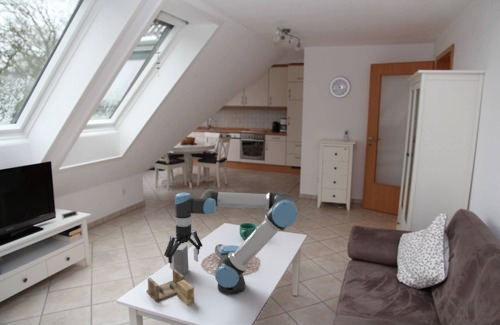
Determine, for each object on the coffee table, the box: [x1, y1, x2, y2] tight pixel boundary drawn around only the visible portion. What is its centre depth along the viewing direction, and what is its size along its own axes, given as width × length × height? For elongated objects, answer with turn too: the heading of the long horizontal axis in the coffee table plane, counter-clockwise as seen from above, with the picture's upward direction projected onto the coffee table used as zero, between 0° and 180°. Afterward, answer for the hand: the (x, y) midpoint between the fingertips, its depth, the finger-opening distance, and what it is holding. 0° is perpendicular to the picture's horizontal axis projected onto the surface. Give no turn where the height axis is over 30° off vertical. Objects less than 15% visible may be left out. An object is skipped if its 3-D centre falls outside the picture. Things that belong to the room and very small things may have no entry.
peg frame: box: [146, 269, 185, 303], centre depth 179 cm, size 12×17×8 cm
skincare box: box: [173, 244, 190, 277], centre depth 198 cm, size 8×7×16 cm
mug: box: [239, 222, 258, 240], centre depth 248 cm, size 17×13×10 cm
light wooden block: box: [176, 279, 195, 306], centre depth 172 cm, size 4×10×8 cm, turn 41°
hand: (184, 264), depth 169 cm, fingers open, 13 cm apart
